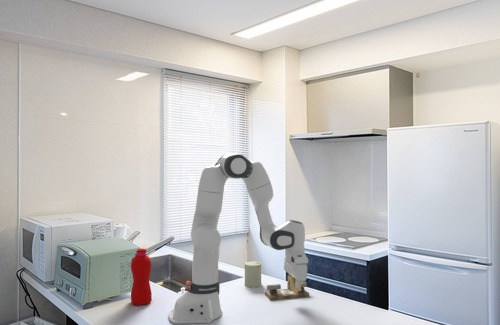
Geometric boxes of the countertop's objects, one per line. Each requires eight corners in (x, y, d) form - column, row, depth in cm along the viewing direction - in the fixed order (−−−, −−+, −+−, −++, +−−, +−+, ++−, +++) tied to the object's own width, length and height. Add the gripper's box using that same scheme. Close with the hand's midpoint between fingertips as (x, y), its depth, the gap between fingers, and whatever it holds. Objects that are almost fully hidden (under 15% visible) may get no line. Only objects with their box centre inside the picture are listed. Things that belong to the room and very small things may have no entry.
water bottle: (127, 300, 182) (126, 247, 182) (150, 298, 186) (150, 246, 186) (127, 307, 173) (127, 252, 173) (152, 304, 177) (152, 250, 177)
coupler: (290, 291, 174) (290, 278, 174) (287, 288, 179) (287, 275, 179) (301, 290, 176) (301, 277, 176) (297, 287, 180) (297, 275, 180)
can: (261, 287, 201) (261, 264, 201) (244, 287, 201) (244, 264, 201) (261, 282, 210) (261, 260, 210) (244, 282, 210) (244, 260, 210)
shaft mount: (270, 300, 182) (270, 288, 182) (264, 294, 191) (264, 282, 191) (309, 296, 187) (309, 284, 187) (302, 290, 196) (302, 279, 196)
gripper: (281, 250, 187) (280, 279, 186) (296, 261, 167) (295, 293, 167) (293, 250, 188) (292, 278, 188) (309, 260, 168) (309, 292, 168)
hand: (294, 285), depth 177 cm, fingers closed on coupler, 4 cm apart
